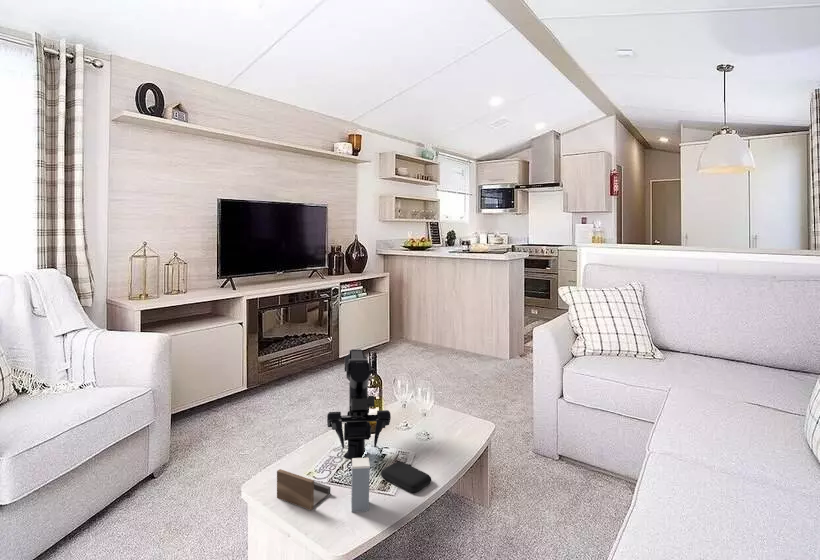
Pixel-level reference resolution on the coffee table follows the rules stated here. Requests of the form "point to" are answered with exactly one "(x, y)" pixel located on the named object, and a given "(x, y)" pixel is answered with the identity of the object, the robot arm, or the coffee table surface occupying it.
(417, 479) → the carrying case or bag
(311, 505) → the stand
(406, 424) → the coffee table surface
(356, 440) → the robot arm
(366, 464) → the white tall block
